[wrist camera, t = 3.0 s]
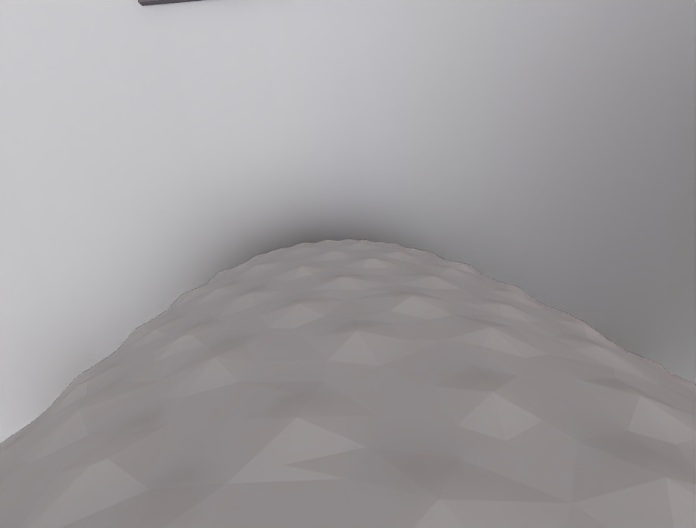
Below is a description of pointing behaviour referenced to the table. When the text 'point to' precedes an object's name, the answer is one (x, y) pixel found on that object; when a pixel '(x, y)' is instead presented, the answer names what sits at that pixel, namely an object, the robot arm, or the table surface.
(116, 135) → the table surface
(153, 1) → the charcoal mat
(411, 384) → the mug
